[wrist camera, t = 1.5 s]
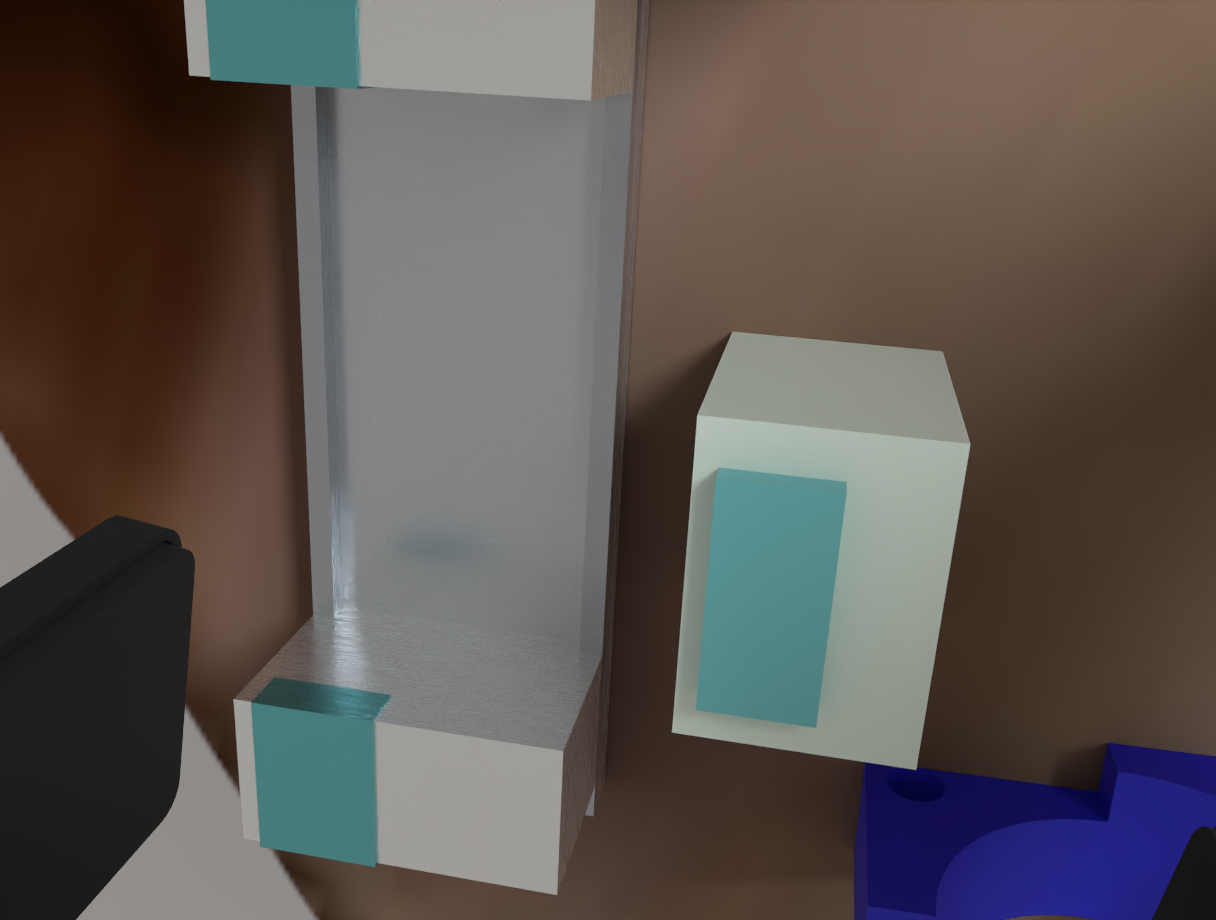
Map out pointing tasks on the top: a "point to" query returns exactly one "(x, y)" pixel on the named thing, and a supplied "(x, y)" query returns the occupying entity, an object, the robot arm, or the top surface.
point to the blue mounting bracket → (1028, 840)
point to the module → (819, 547)
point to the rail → (449, 422)
